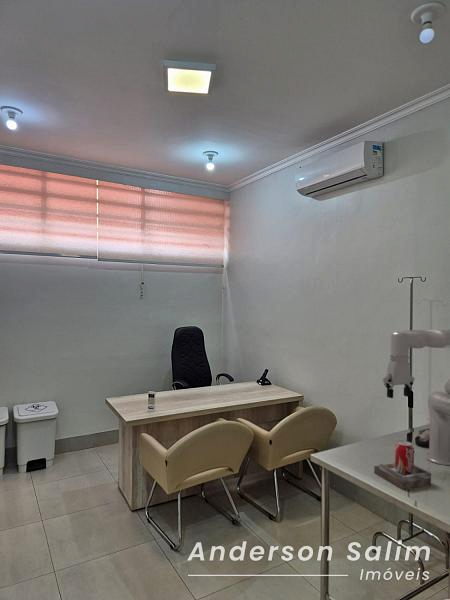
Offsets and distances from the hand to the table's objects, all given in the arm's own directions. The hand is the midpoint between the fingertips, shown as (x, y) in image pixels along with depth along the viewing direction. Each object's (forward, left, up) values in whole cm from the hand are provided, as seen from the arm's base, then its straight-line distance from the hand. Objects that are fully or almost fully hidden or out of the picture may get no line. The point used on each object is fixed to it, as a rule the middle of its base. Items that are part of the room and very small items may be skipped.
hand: (398, 396), depth 177 cm
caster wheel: (-34, -16, -31) cm, 49 cm away
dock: (+10, +13, -30) cm, 34 cm away
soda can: (+10, +14, -27) cm, 32 cm away
